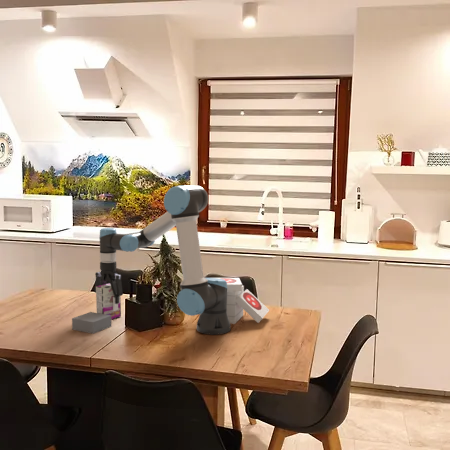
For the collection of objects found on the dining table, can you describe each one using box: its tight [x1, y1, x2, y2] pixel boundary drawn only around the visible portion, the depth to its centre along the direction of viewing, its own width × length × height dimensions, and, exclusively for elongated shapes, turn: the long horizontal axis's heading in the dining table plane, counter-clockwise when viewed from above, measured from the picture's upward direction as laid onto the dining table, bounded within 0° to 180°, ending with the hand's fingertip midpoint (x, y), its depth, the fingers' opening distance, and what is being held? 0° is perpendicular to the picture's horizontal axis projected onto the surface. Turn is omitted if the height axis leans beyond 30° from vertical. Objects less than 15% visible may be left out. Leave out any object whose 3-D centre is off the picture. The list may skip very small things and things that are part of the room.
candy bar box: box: [95, 282, 122, 321], centre depth 250 cm, size 11×5×16 cm, turn 143°
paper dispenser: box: [217, 277, 270, 325], centre depth 253 cm, size 19×30×18 cm, turn 73°
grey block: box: [71, 311, 112, 334], centre depth 236 cm, size 12×12×5 cm
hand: (108, 308), depth 250 cm, fingers open, 8 cm apart
